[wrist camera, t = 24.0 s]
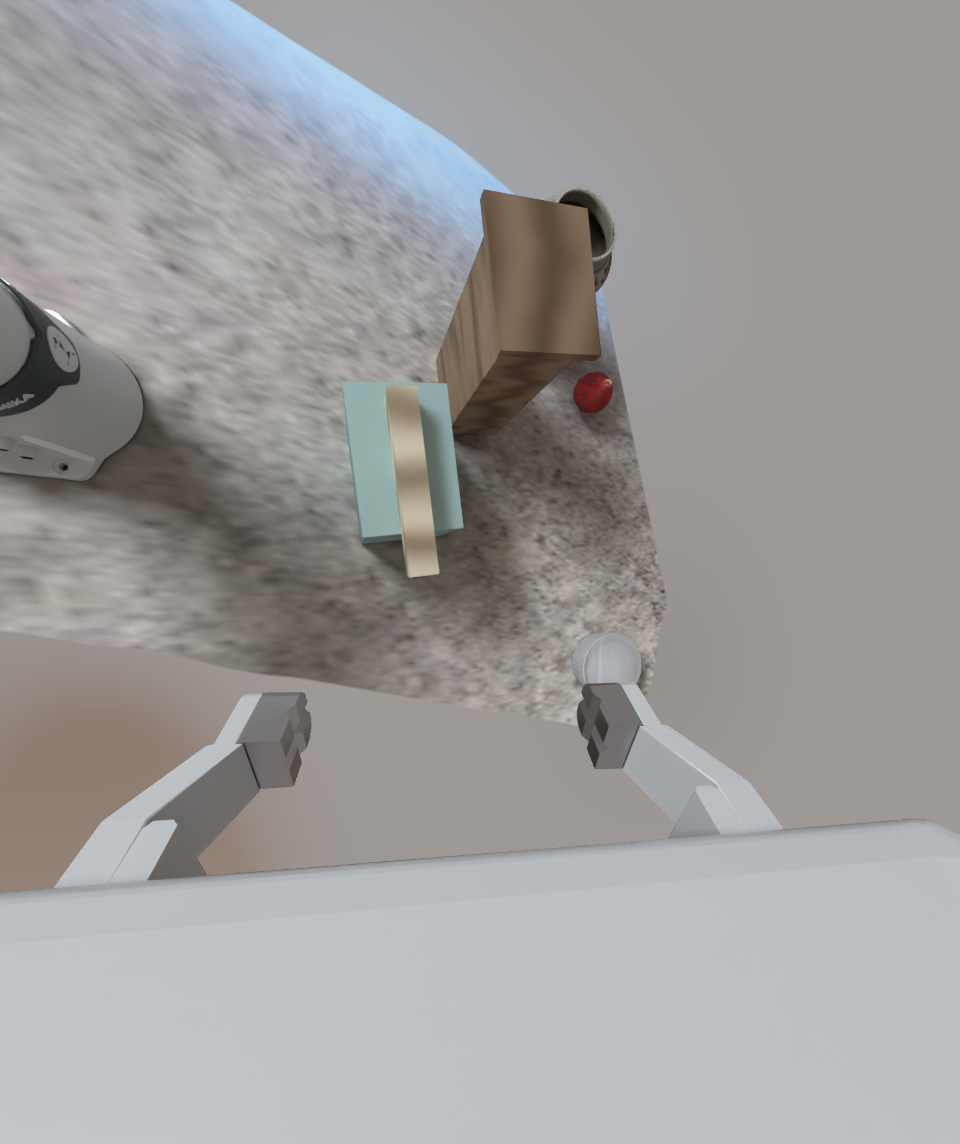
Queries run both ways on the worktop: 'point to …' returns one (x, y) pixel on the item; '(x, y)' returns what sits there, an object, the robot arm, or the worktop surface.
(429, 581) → the worktop surface
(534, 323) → the tall stand
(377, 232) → the worktop surface
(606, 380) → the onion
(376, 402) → the low block
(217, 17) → the worktop surface
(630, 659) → the ramekin
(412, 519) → the rod
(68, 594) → the worktop surface
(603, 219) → the apothecary jar
